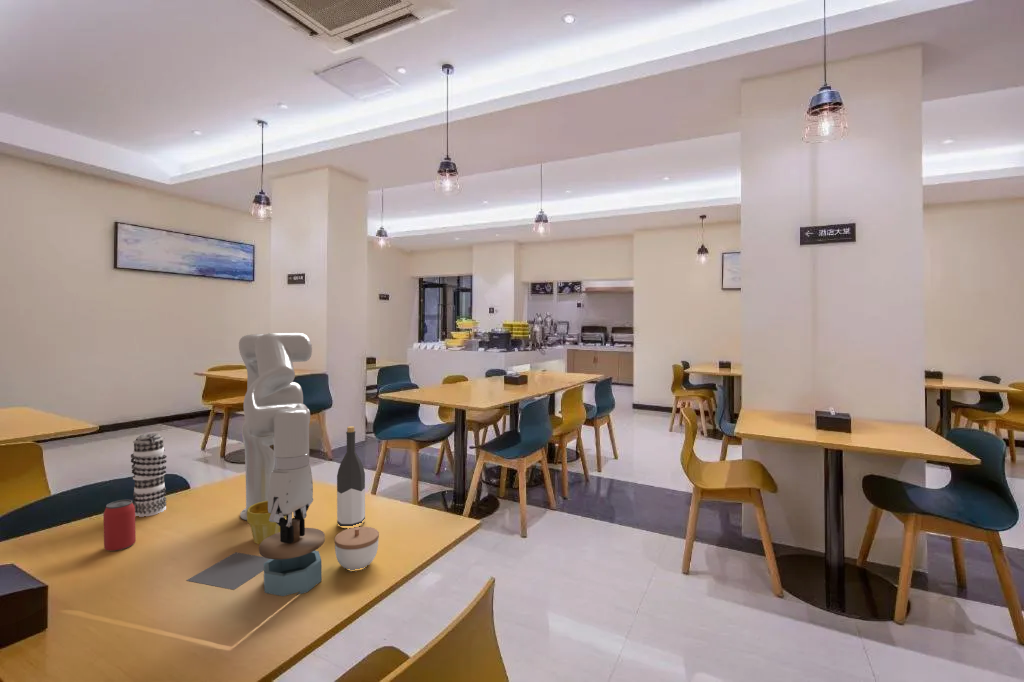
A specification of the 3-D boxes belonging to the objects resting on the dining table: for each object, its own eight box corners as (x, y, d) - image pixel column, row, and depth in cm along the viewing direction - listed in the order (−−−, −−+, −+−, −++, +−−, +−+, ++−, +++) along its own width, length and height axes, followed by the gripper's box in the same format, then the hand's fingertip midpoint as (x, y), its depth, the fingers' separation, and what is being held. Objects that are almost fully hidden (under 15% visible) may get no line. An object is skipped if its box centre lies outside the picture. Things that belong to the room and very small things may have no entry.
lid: (289, 528, 118) (289, 507, 117) (337, 535, 114) (336, 513, 114) (244, 554, 104) (244, 530, 104) (296, 563, 100) (296, 538, 100)
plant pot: (296, 536, 133) (296, 503, 133) (264, 552, 124) (263, 516, 123) (271, 529, 138) (271, 497, 137) (238, 544, 128) (238, 509, 128)
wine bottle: (364, 516, 147) (364, 423, 146) (365, 527, 140) (365, 428, 139) (337, 520, 144) (336, 425, 143) (337, 531, 137) (336, 430, 136)
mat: (235, 554, 122) (235, 552, 122) (279, 561, 119) (279, 559, 119) (186, 582, 109) (186, 580, 109) (234, 592, 105) (234, 589, 105)
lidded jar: (387, 559, 121) (387, 523, 121) (361, 580, 111) (361, 541, 110) (353, 552, 124) (353, 517, 124) (325, 572, 114) (324, 534, 114)
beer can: (117, 553, 123) (116, 508, 122) (97, 550, 124) (96, 506, 124) (141, 542, 129) (141, 499, 129) (122, 539, 130) (121, 497, 130)
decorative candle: (128, 512, 149) (126, 435, 149) (163, 503, 156) (162, 430, 156) (135, 519, 143) (133, 440, 143) (171, 511, 151) (169, 434, 150)
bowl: (290, 566, 117) (289, 546, 117) (331, 573, 114) (330, 553, 114) (251, 592, 105) (251, 570, 105) (296, 601, 102) (296, 578, 102)
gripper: (302, 451, 117) (303, 522, 118) (250, 470, 102) (251, 552, 102) (328, 453, 115) (328, 526, 116) (279, 473, 100) (280, 557, 100)
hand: (292, 537), depth 109 cm, fingers closed on lid, 3 cm apart
